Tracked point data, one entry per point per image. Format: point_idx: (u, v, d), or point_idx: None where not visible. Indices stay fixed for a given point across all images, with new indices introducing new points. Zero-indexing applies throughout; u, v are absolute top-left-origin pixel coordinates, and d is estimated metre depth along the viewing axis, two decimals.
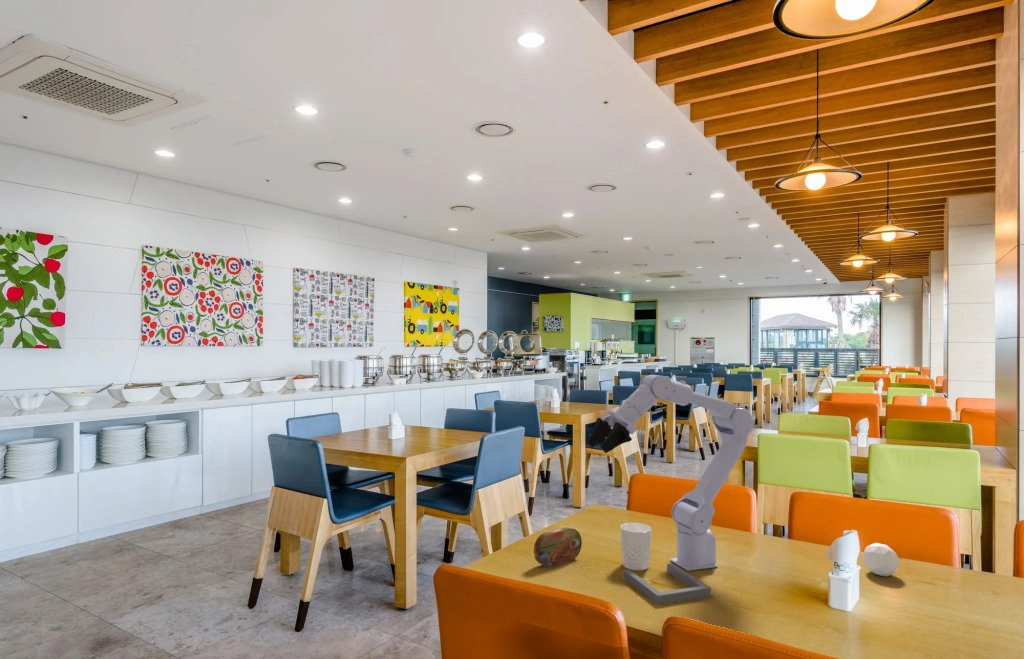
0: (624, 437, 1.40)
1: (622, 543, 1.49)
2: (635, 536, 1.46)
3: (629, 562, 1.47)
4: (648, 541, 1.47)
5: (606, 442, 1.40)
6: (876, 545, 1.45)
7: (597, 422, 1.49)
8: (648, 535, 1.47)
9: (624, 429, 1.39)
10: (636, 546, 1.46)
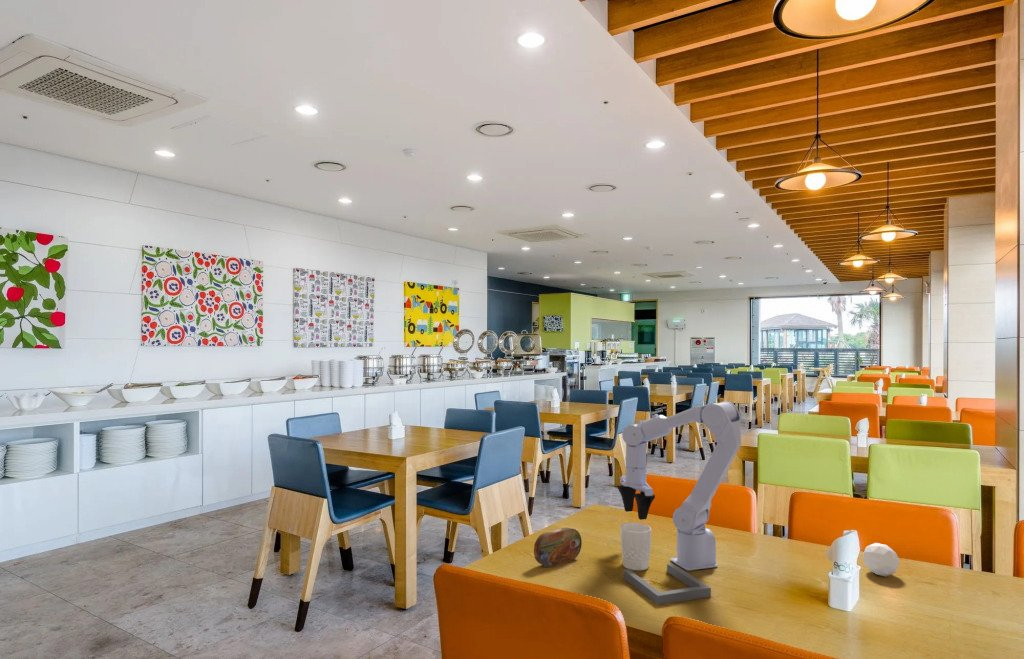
0: (648, 498, 1.58)
1: (622, 543, 1.49)
2: (635, 536, 1.46)
3: (629, 562, 1.47)
4: (648, 541, 1.47)
5: (640, 513, 1.58)
6: (876, 545, 1.45)
7: (620, 491, 1.66)
8: (648, 535, 1.47)
9: (644, 496, 1.56)
10: (636, 546, 1.46)
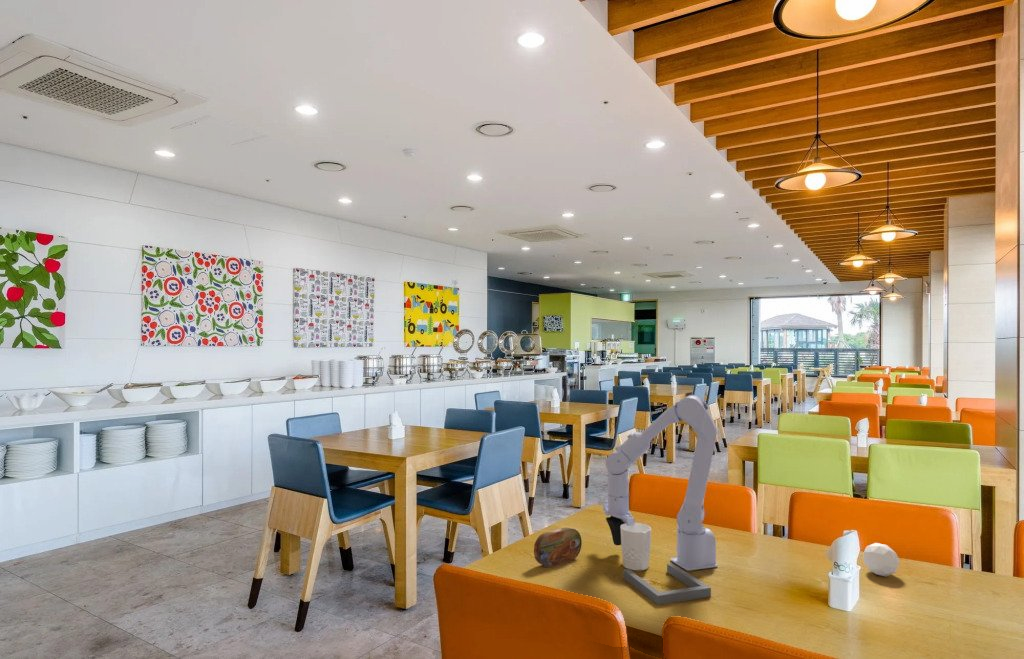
0: None
1: (622, 543, 1.49)
2: (635, 536, 1.46)
3: (629, 562, 1.47)
4: (648, 541, 1.47)
5: (616, 539, 1.58)
6: (876, 545, 1.45)
7: (608, 523, 1.59)
8: (648, 535, 1.47)
9: (620, 522, 1.56)
10: (636, 546, 1.46)
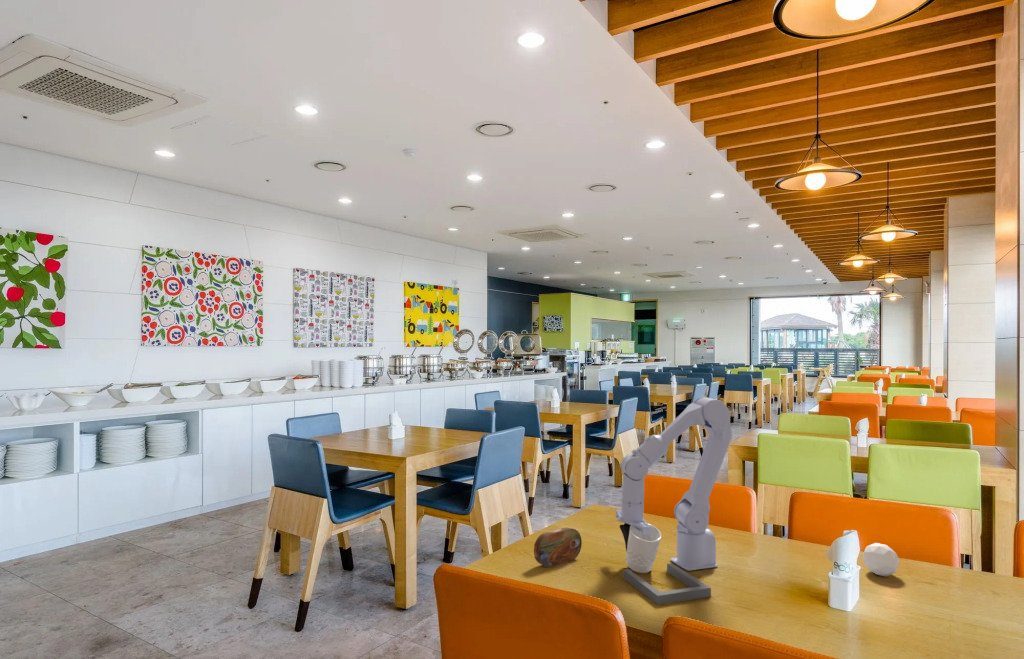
0: None
1: (629, 546, 1.45)
2: (645, 544, 1.42)
3: (634, 564, 1.45)
4: (657, 548, 1.43)
5: None
6: (876, 545, 1.45)
7: (622, 531, 1.51)
8: (658, 543, 1.43)
9: None
10: (644, 553, 1.42)
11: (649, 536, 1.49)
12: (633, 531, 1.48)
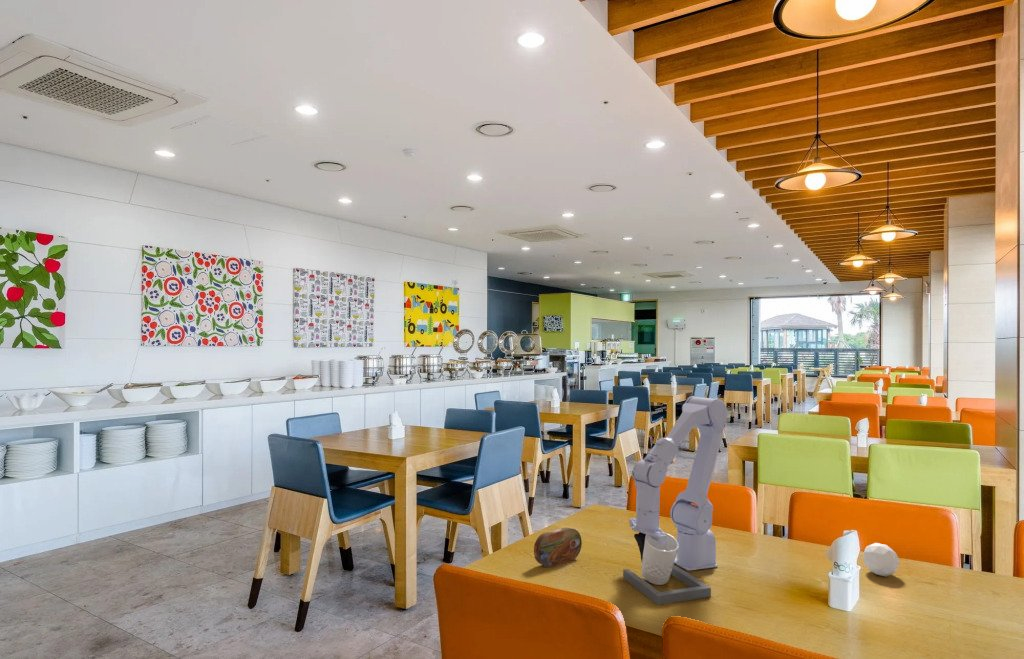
0: None
1: (645, 556, 1.38)
2: (662, 554, 1.35)
3: (650, 576, 1.38)
4: (674, 558, 1.36)
5: None
6: (876, 545, 1.45)
7: (637, 540, 1.44)
8: (675, 553, 1.36)
9: None
10: (661, 564, 1.36)
11: (665, 546, 1.42)
12: (649, 540, 1.41)
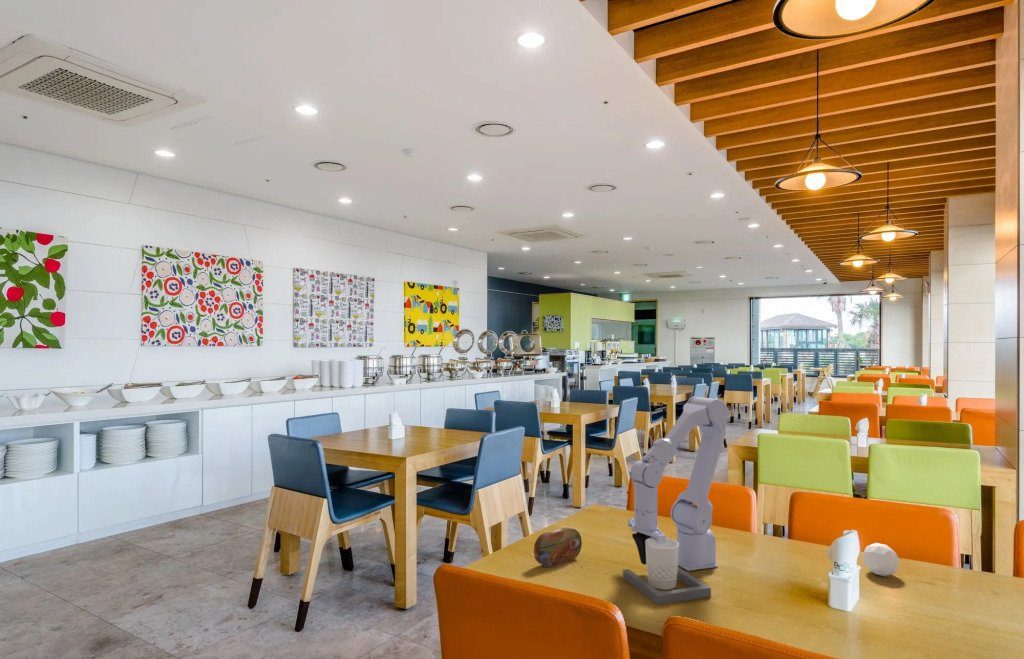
0: None
1: (647, 560, 1.38)
2: (662, 552, 1.35)
3: (655, 580, 1.36)
4: (676, 558, 1.36)
5: (644, 557, 1.44)
6: (876, 545, 1.45)
7: (635, 540, 1.46)
8: (676, 551, 1.36)
9: None
10: (663, 563, 1.35)
11: None
12: None
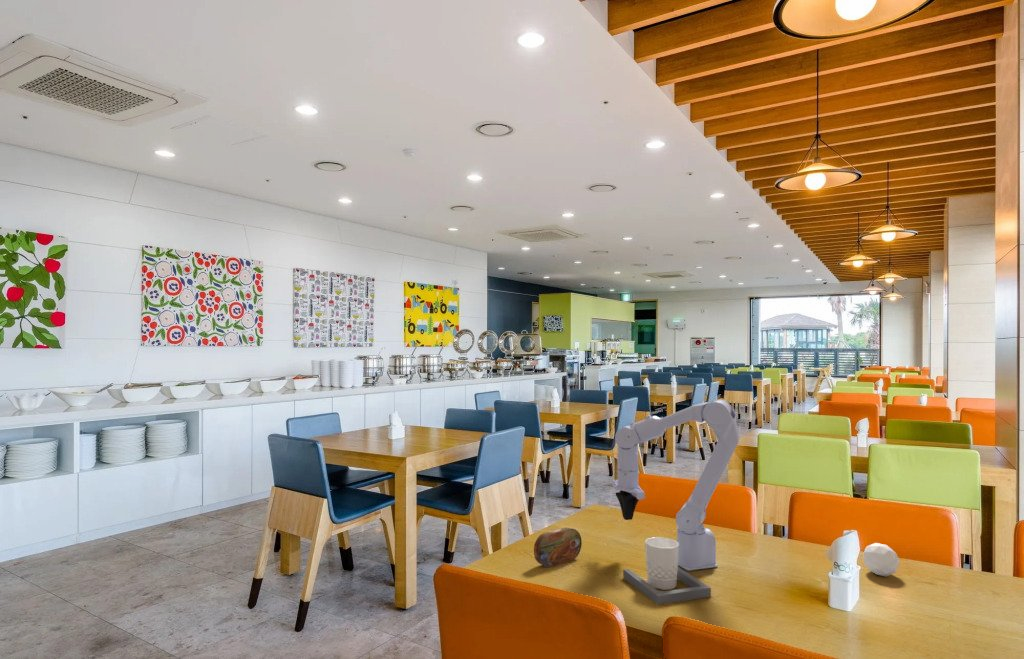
0: (634, 498, 1.58)
1: (647, 560, 1.38)
2: (662, 552, 1.35)
3: (655, 580, 1.36)
4: (676, 558, 1.36)
5: (626, 513, 1.58)
6: (876, 545, 1.45)
7: (618, 498, 1.60)
8: (676, 551, 1.36)
9: (629, 496, 1.56)
10: (663, 563, 1.35)
11: None
12: None
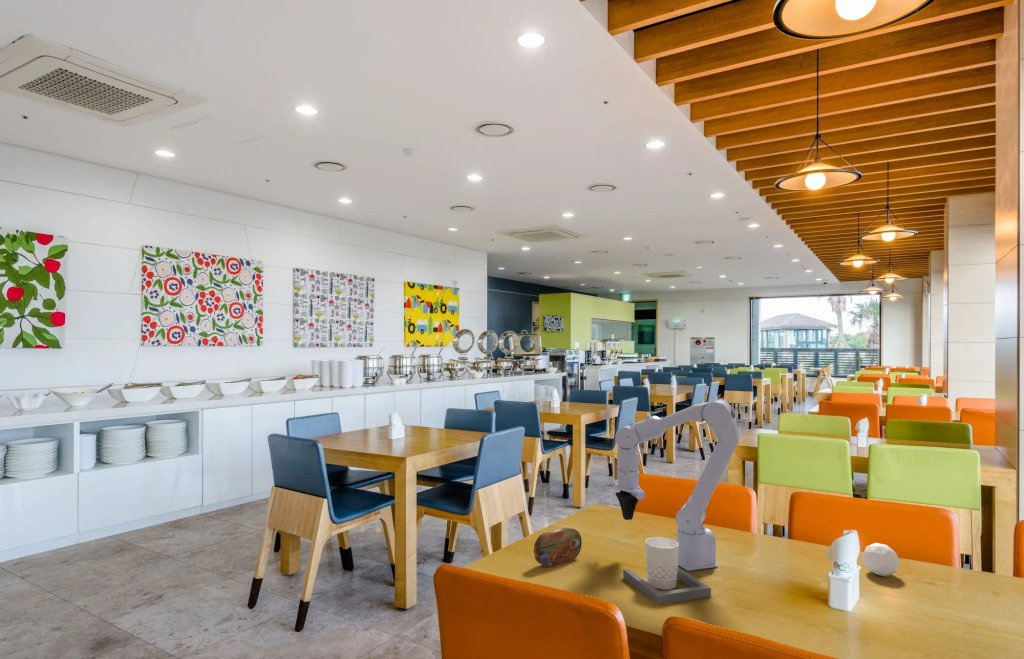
0: (634, 498, 1.58)
1: (647, 560, 1.38)
2: (662, 552, 1.35)
3: (655, 580, 1.36)
4: (676, 558, 1.36)
5: (626, 513, 1.58)
6: (876, 545, 1.45)
7: (618, 498, 1.60)
8: (676, 551, 1.36)
9: (629, 496, 1.56)
10: (663, 563, 1.35)
11: None
12: None
